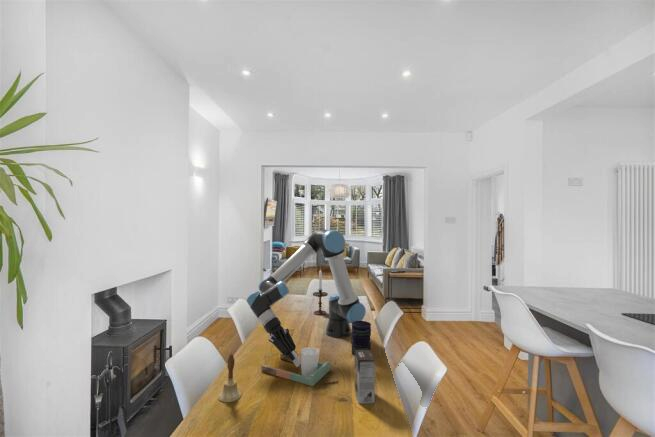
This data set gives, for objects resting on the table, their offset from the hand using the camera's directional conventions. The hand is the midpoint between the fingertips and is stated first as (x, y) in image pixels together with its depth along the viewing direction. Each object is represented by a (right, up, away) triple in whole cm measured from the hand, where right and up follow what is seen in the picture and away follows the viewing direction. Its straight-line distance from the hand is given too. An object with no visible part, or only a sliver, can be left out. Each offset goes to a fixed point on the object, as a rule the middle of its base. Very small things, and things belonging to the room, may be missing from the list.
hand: (299, 365), depth 138 cm
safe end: (+5, -3, -2) cm, 6 cm away
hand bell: (-25, -3, -20) cm, 32 cm away
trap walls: (-3, -3, +1) cm, 4 cm away
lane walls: (-10, -3, +5) cm, 11 cm away
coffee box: (+26, -3, -19) cm, 33 cm away
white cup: (+4, -3, -2) cm, 6 cm away
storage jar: (+29, -4, +20) cm, 36 cm away
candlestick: (+7, -4, +88) cm, 88 cm away
